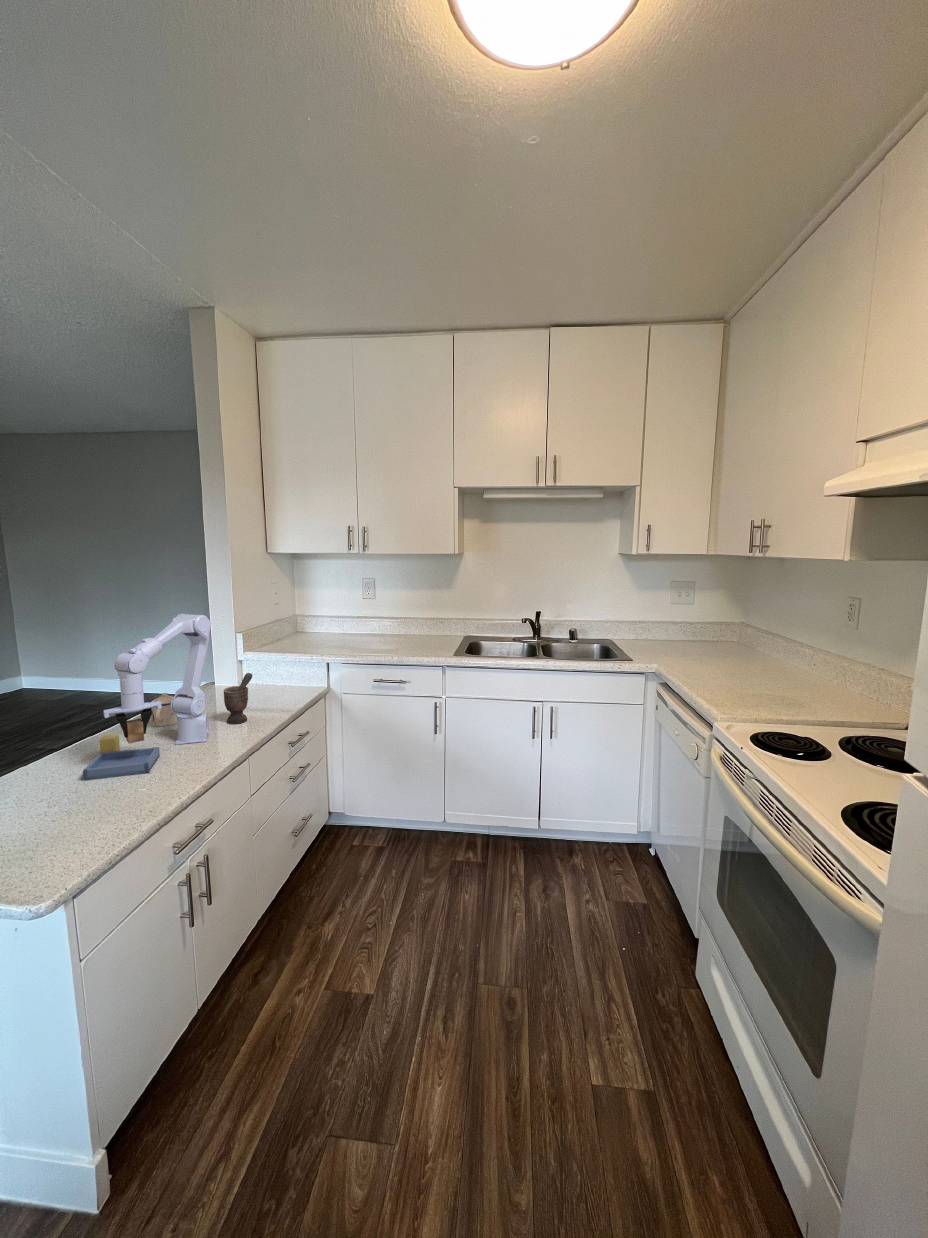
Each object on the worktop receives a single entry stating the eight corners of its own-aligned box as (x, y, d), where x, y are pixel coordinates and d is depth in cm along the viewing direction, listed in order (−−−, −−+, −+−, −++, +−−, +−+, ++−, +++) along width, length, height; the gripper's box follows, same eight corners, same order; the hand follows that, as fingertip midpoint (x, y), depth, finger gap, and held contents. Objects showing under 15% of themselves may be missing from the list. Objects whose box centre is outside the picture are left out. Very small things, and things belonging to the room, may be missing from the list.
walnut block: (141, 736, 152) (140, 718, 151) (144, 740, 149) (142, 721, 149) (126, 739, 149) (125, 721, 149) (128, 743, 147) (127, 724, 146)
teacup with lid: (158, 719, 189) (156, 690, 187) (183, 718, 191) (182, 689, 189) (144, 730, 177) (142, 699, 176) (171, 729, 179) (169, 698, 177)
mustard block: (120, 751, 158) (118, 734, 157) (115, 756, 154) (114, 738, 154) (105, 753, 157) (104, 735, 156) (101, 758, 153) (99, 740, 152)
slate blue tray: (159, 755, 155) (159, 747, 155) (148, 773, 143) (148, 763, 143) (100, 762, 150) (99, 753, 150) (83, 780, 138) (82, 770, 138)
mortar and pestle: (260, 717, 193) (258, 669, 190) (252, 725, 184) (250, 674, 182) (230, 717, 192) (228, 668, 190) (221, 725, 184) (218, 674, 181)
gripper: (156, 685, 155) (159, 726, 157) (100, 693, 145) (104, 737, 147) (161, 690, 150) (164, 732, 152) (104, 698, 140) (107, 743, 142)
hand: (135, 735), depth 149 cm, fingers closed on walnut block, 4 cm apart
